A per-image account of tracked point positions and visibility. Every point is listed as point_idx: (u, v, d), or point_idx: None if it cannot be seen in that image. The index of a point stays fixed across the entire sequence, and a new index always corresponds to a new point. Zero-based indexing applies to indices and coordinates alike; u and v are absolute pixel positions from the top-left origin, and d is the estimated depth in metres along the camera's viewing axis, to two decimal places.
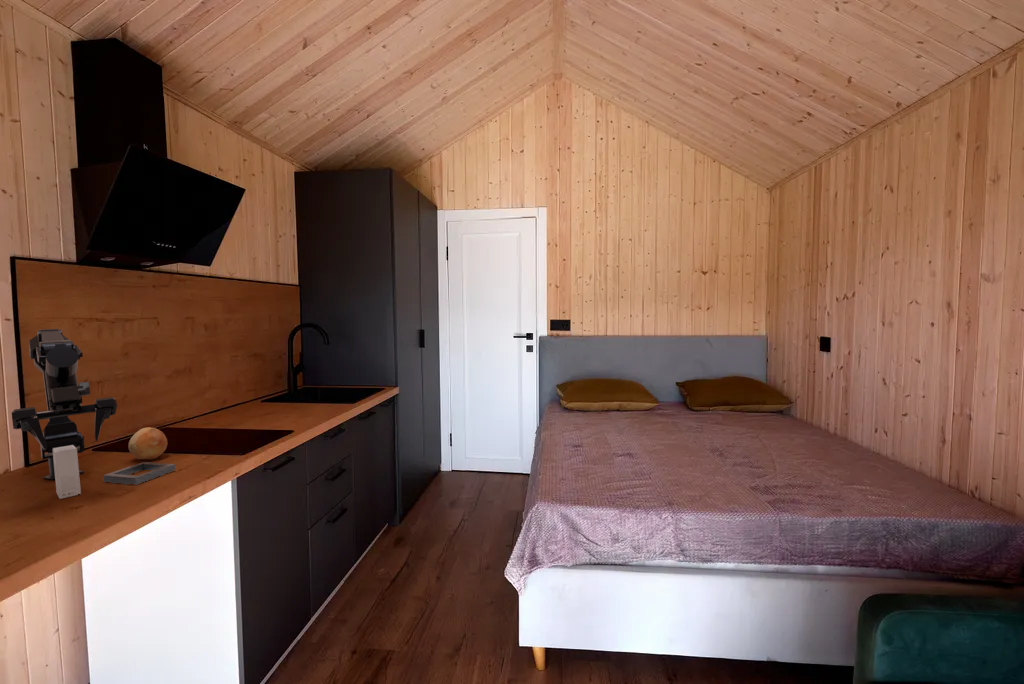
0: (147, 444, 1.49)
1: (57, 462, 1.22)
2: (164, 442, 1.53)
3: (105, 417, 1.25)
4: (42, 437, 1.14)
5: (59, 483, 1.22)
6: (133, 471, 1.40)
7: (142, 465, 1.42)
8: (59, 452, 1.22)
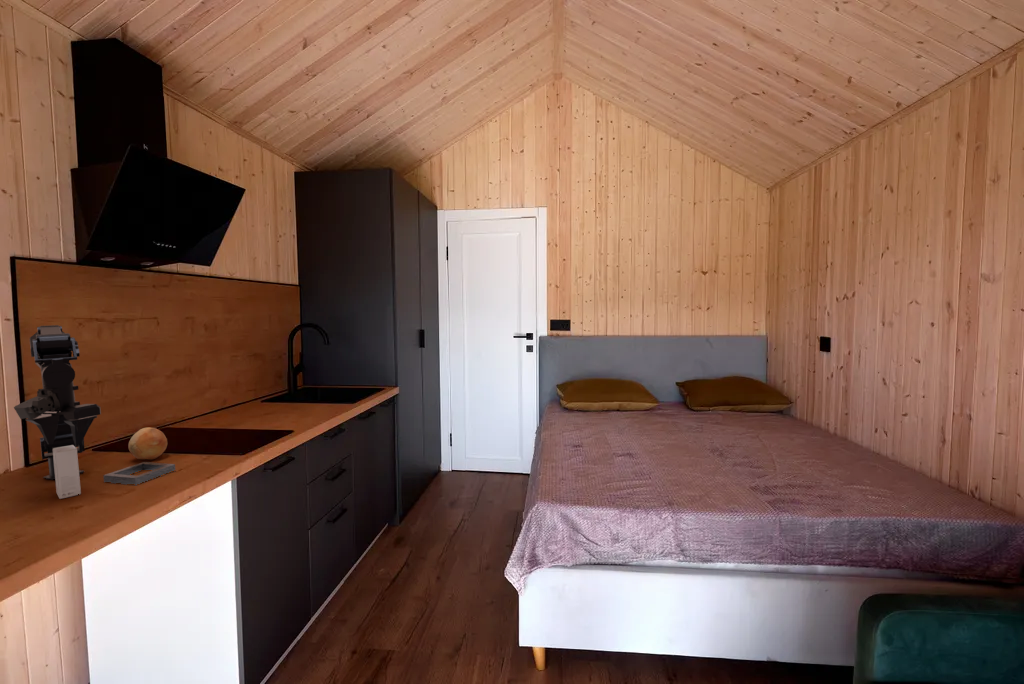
0: (147, 444, 1.49)
1: (57, 462, 1.22)
2: (164, 442, 1.53)
3: None
4: (44, 434, 1.24)
5: (59, 483, 1.22)
6: (133, 471, 1.40)
7: (142, 465, 1.42)
8: (59, 452, 1.22)
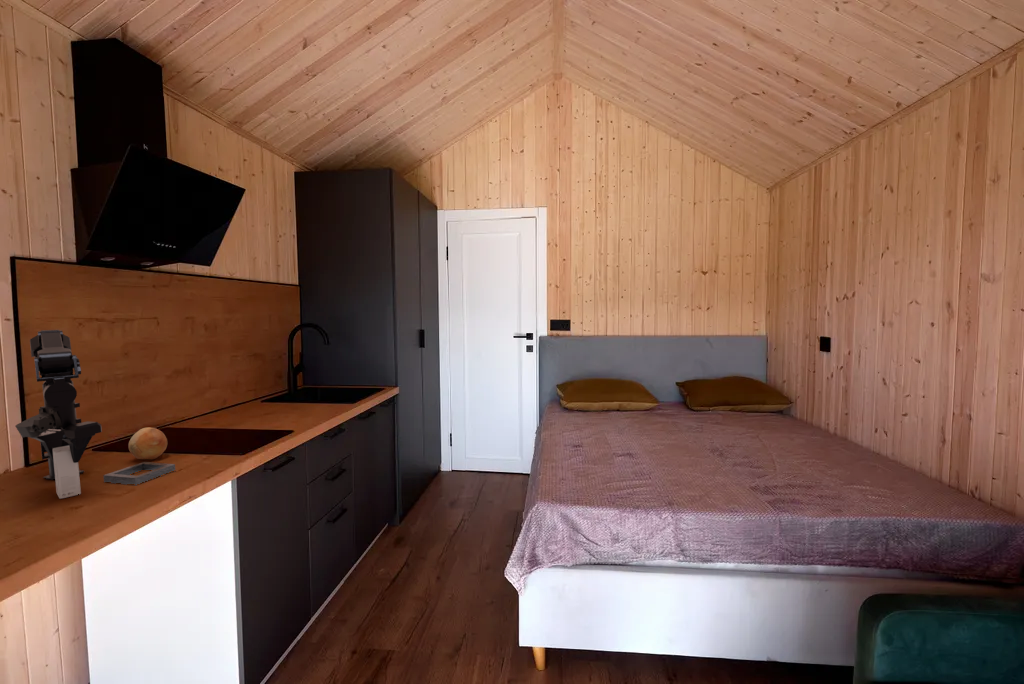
0: (147, 444, 1.49)
1: (57, 462, 1.22)
2: (164, 442, 1.53)
3: None
4: (48, 451, 1.25)
5: (59, 483, 1.22)
6: (133, 471, 1.40)
7: (142, 465, 1.42)
8: (59, 452, 1.22)
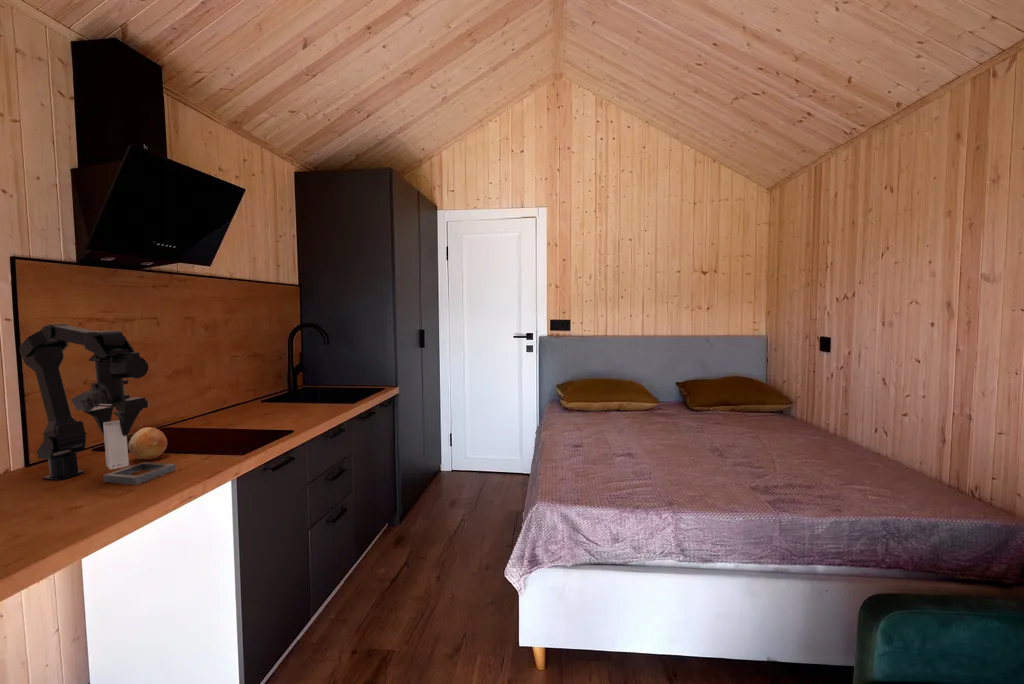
0: (147, 444, 1.49)
1: (108, 435, 1.29)
2: (164, 442, 1.53)
3: (137, 410, 1.32)
4: (99, 425, 1.33)
5: (109, 455, 1.30)
6: (133, 471, 1.40)
7: (142, 465, 1.42)
8: (110, 425, 1.30)
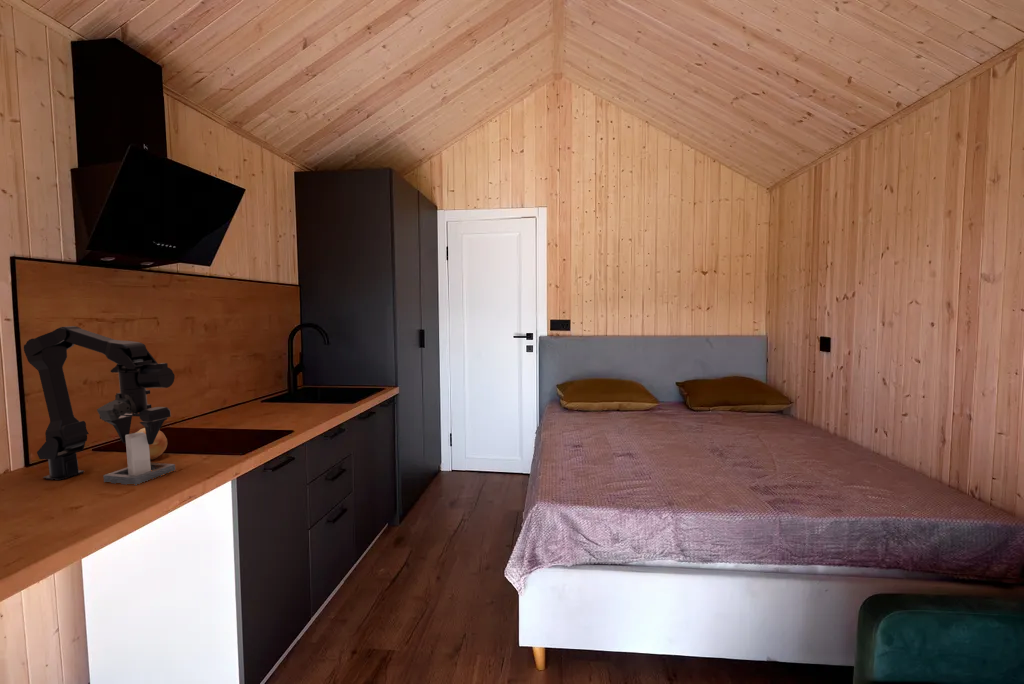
0: None
1: (132, 447, 1.34)
2: (164, 442, 1.53)
3: None
4: (120, 434, 1.37)
5: (133, 466, 1.34)
6: None
7: None
8: (133, 438, 1.34)
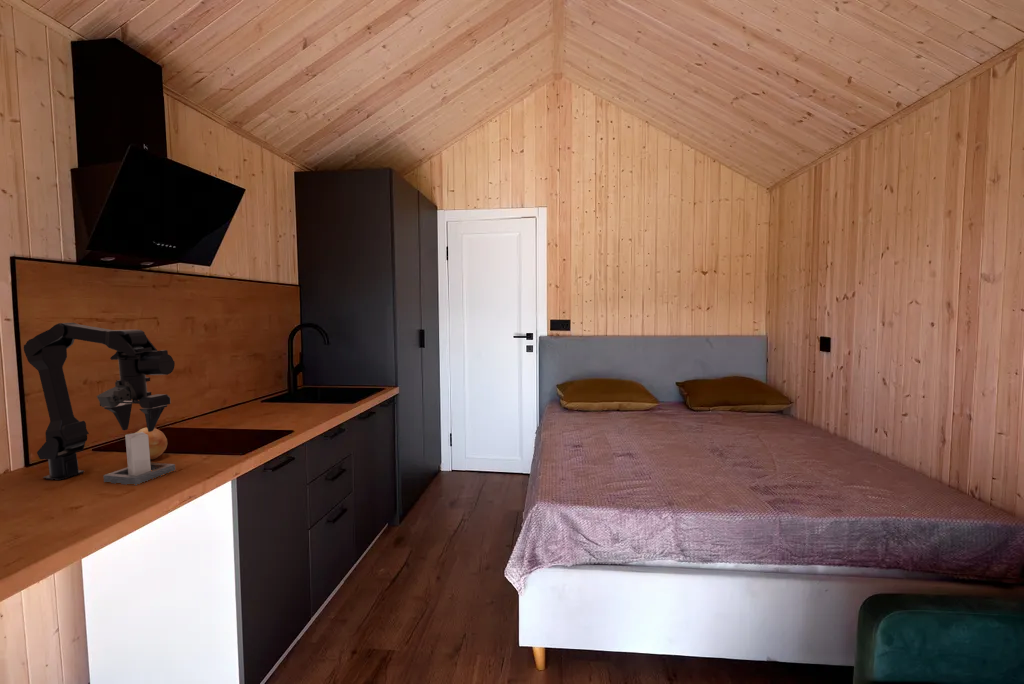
0: None
1: (131, 447, 1.34)
2: (164, 442, 1.53)
3: None
4: (120, 421, 1.37)
5: (133, 466, 1.34)
6: None
7: None
8: (133, 438, 1.34)
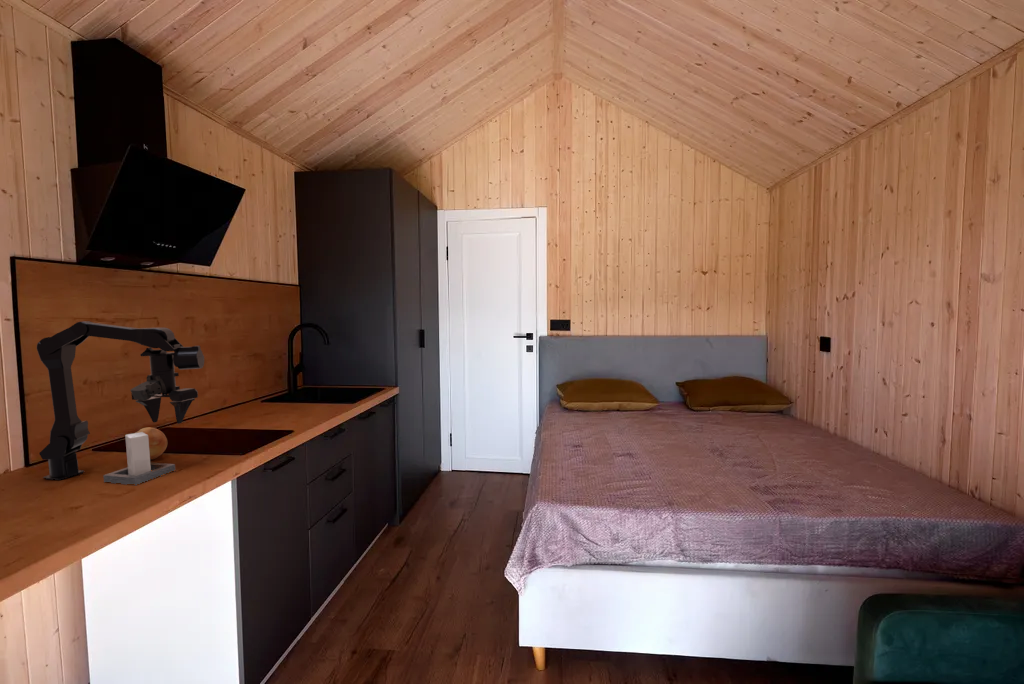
0: None
1: (131, 447, 1.34)
2: (164, 442, 1.53)
3: (190, 400, 1.45)
4: (150, 414, 1.45)
5: (133, 466, 1.34)
6: None
7: None
8: (133, 438, 1.34)
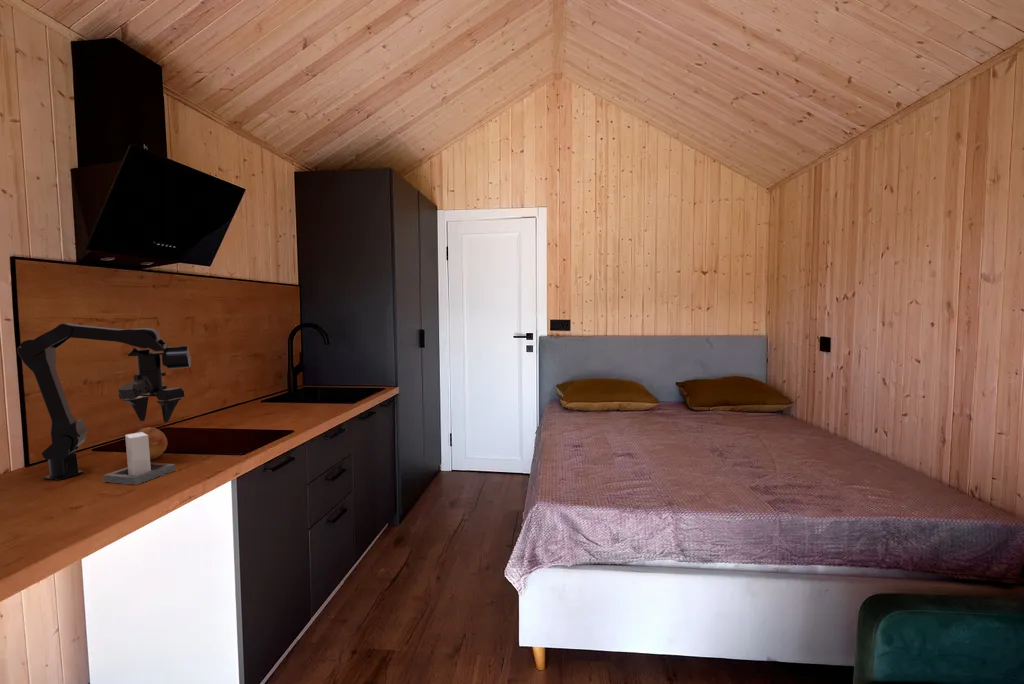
0: None
1: (131, 447, 1.34)
2: (164, 442, 1.53)
3: (176, 399, 1.47)
4: (137, 413, 1.48)
5: (133, 466, 1.34)
6: None
7: None
8: (133, 438, 1.34)
